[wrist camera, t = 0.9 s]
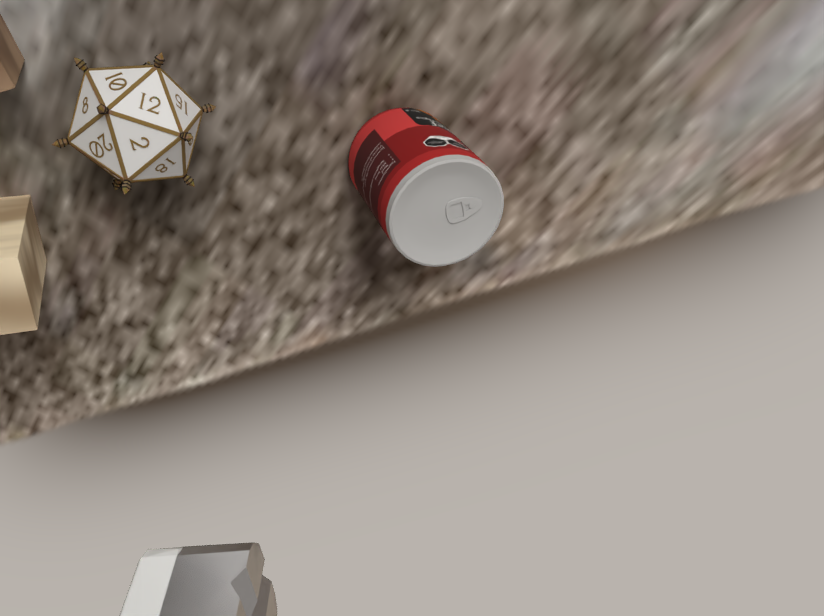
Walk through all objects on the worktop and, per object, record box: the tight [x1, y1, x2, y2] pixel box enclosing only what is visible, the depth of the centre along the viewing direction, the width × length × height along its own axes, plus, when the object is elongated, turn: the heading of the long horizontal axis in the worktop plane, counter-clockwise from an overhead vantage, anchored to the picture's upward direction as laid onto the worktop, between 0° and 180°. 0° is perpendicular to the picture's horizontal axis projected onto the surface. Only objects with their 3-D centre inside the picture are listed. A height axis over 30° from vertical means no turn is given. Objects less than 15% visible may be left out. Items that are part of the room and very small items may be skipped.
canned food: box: [349, 108, 504, 267], centre depth 54 cm, size 8×8×11 cm
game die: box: [52, 53, 216, 195], centre depth 47 cm, size 9×8×10 cm
